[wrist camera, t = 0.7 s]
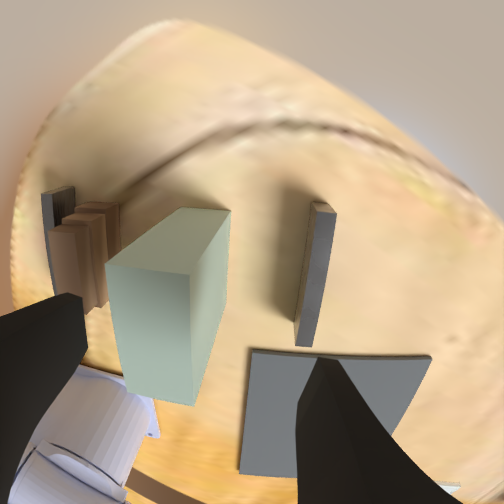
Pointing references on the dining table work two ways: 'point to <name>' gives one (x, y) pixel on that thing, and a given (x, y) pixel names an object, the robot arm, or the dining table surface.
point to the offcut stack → (85, 251)
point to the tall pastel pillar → (170, 302)
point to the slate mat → (290, 389)
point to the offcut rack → (314, 265)
